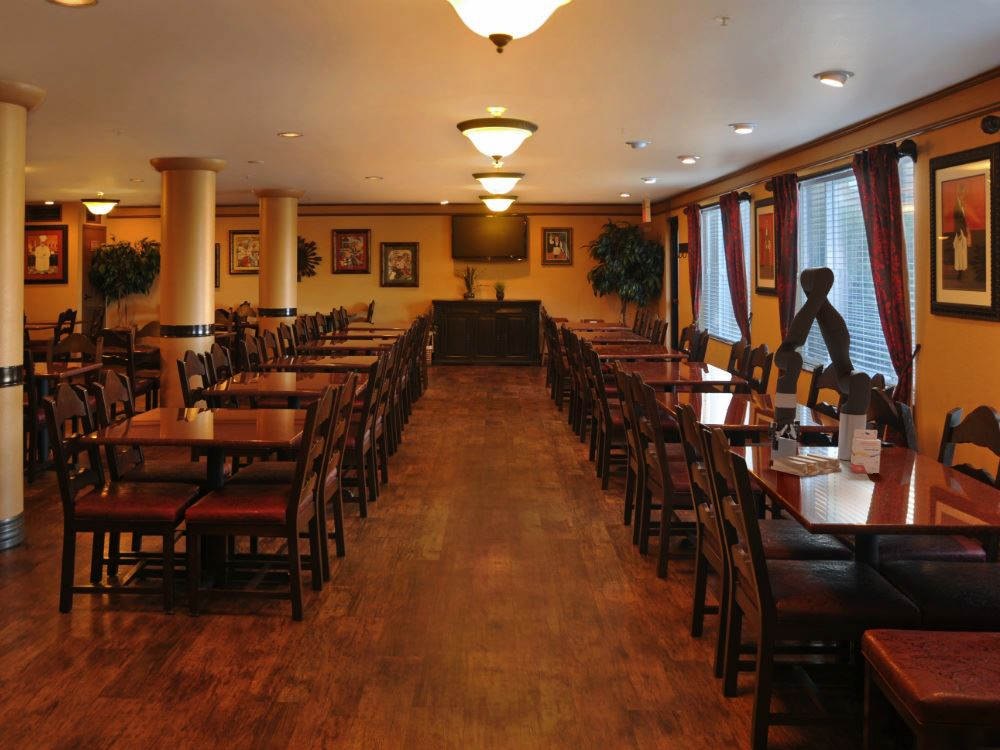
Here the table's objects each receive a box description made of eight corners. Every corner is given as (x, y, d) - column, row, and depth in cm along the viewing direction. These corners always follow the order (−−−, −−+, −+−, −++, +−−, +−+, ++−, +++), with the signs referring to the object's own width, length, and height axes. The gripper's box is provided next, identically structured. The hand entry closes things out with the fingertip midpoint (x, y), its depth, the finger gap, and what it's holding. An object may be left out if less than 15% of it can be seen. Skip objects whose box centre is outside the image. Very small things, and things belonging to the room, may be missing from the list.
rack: (809, 463, 335) (809, 452, 335) (841, 470, 323) (842, 459, 323) (770, 468, 324) (771, 457, 324) (802, 476, 313) (803, 464, 312)
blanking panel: (773, 460, 341) (775, 436, 340) (795, 465, 333) (796, 440, 332) (770, 460, 340) (772, 436, 339) (792, 465, 332) (793, 440, 331)
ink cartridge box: (854, 473, 320) (856, 431, 319) (850, 470, 325) (852, 428, 324) (879, 473, 319) (882, 432, 318) (875, 471, 324) (877, 429, 323)
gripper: (790, 403, 341) (788, 446, 343) (764, 404, 334) (761, 449, 335) (807, 405, 335) (804, 449, 337) (780, 407, 327) (777, 452, 329)
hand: (783, 449), depth 336 cm, fingers open, 8 cm apart
